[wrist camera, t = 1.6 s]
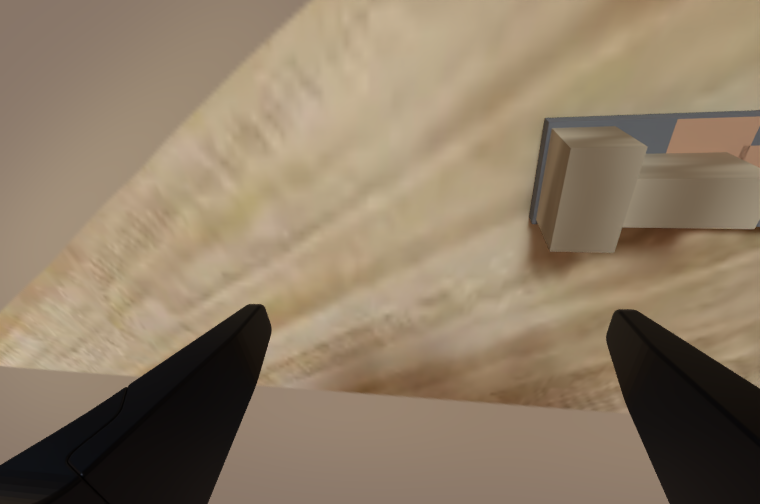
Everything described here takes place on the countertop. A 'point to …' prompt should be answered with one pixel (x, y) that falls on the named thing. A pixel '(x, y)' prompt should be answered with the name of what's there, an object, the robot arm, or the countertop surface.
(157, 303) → the countertop surface
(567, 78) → the countertop surface
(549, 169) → the t block
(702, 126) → the mat
